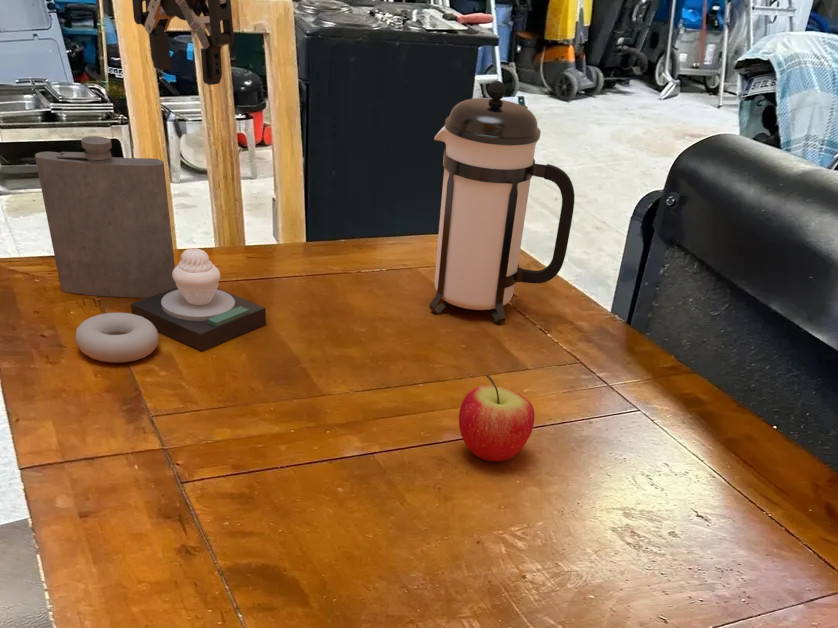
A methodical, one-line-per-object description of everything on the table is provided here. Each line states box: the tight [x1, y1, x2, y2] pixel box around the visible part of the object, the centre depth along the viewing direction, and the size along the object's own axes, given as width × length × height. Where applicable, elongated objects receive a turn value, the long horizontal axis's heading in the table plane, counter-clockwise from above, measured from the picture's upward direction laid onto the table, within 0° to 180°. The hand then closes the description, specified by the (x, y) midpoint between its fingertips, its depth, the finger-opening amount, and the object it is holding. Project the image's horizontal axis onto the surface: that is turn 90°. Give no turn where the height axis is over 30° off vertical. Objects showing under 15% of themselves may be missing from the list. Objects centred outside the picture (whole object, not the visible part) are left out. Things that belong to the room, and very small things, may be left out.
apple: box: [458, 373, 536, 462], centre depth 99 cm, size 8×8×10 cm
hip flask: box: [34, 135, 177, 299], centre depth 119 cm, size 16×4×20 cm, turn 97°
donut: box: [74, 312, 159, 364], centre depth 112 cm, size 10×3×10 cm
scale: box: [130, 287, 267, 352], centre depth 120 cm, size 13×12×3 cm
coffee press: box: [429, 80, 575, 325], centre depth 125 cm, size 17×16×30 cm
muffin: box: [172, 247, 221, 305], centre depth 117 cm, size 6×6×7 cm
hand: (187, 76), depth 108 cm, fingers open, 8 cm apart
